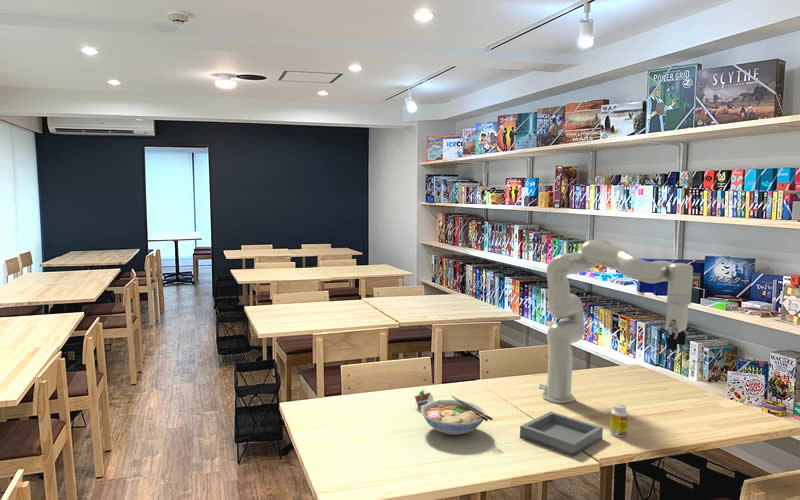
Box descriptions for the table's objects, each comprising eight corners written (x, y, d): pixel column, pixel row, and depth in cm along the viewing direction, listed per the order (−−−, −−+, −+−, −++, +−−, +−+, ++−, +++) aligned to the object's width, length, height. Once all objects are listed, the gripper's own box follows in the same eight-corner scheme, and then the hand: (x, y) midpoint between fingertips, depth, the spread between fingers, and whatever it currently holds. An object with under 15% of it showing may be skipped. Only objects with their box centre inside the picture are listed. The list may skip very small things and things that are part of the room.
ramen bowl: (408, 422, 210) (408, 400, 210) (463, 414, 220) (464, 393, 219) (439, 450, 188) (440, 426, 187) (500, 440, 197) (501, 417, 196)
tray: (519, 437, 199) (520, 426, 199) (550, 422, 214) (550, 411, 213) (573, 456, 185) (573, 444, 185) (602, 438, 199) (602, 427, 199)
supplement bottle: (620, 438, 200) (621, 410, 199) (606, 433, 204) (608, 404, 204) (630, 435, 203) (631, 407, 202) (616, 429, 208) (618, 402, 207)
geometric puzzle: (408, 403, 224) (420, 388, 222) (414, 397, 230) (426, 383, 228) (421, 416, 222) (434, 402, 220) (427, 410, 229) (439, 396, 226)
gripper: (674, 294, 212) (672, 340, 213) (659, 300, 198) (656, 349, 200) (697, 297, 207) (694, 344, 208) (683, 303, 194) (680, 353, 195)
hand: (676, 346), depth 204 cm, fingers open, 9 cm apart
